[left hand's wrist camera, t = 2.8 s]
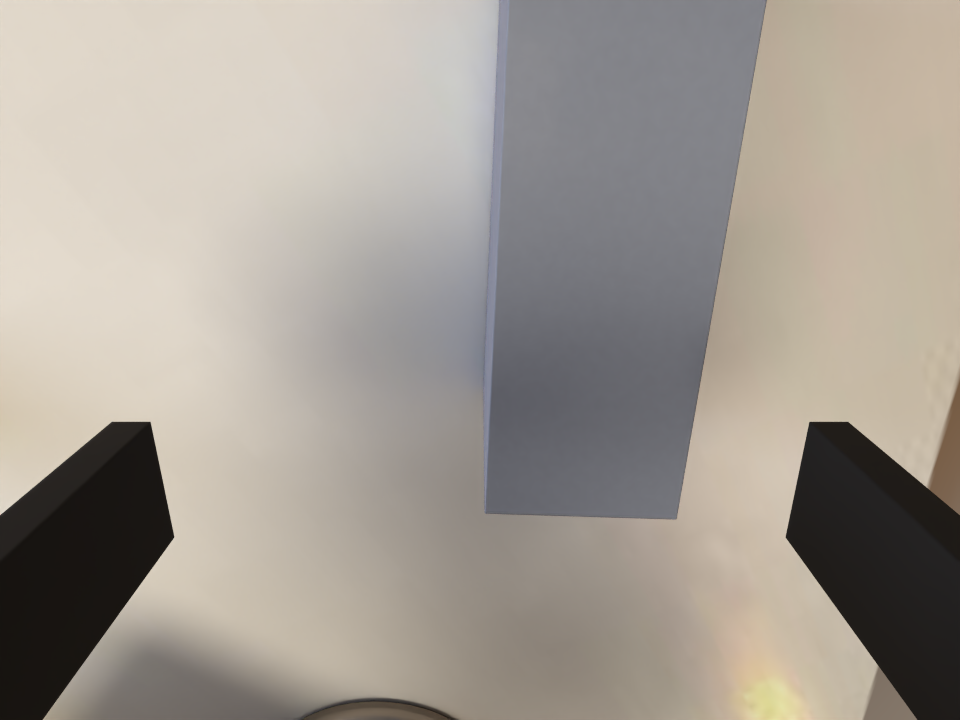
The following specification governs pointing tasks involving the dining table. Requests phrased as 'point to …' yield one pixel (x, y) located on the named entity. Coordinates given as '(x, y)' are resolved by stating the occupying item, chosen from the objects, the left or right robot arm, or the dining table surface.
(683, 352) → the cabinet
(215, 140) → the dining table surface
